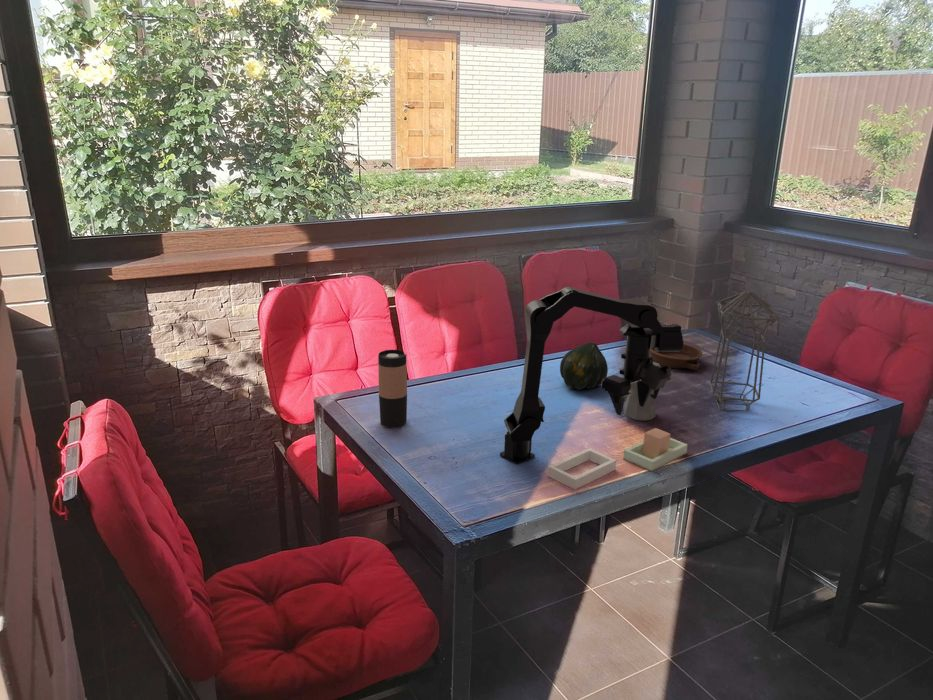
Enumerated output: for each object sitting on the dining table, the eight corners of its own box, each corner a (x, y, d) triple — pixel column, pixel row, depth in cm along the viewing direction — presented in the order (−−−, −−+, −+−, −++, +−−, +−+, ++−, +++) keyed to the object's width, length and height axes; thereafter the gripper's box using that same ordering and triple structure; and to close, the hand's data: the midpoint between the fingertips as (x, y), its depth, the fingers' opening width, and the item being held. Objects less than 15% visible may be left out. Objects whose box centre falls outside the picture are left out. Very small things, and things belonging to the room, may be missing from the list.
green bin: (651, 471, 179) (652, 462, 178) (623, 458, 185) (624, 449, 184) (686, 453, 189) (687, 444, 188) (658, 441, 195) (659, 433, 194)
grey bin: (574, 489, 170) (575, 479, 170) (547, 475, 176) (548, 466, 176) (615, 469, 180) (616, 460, 179) (588, 457, 186) (589, 448, 185)
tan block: (657, 460, 184) (660, 438, 182) (642, 454, 187) (644, 432, 185) (668, 455, 187) (670, 433, 185) (653, 449, 190) (655, 427, 188)
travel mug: (374, 425, 201) (372, 356, 195) (387, 415, 208) (386, 347, 202) (399, 430, 199) (398, 360, 192) (412, 419, 206) (411, 351, 199)
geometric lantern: (702, 393, 227) (717, 283, 216) (756, 398, 224) (773, 286, 213) (707, 413, 212) (723, 296, 201) (765, 419, 210) (784, 300, 198)
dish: (675, 377, 241) (676, 363, 239) (633, 356, 259) (634, 343, 258) (716, 370, 248) (717, 356, 246) (672, 350, 267) (673, 337, 265)
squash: (544, 369, 229) (576, 340, 221) (565, 358, 241) (596, 330, 233) (572, 405, 227) (606, 378, 218) (592, 392, 239) (625, 365, 230)
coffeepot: (613, 407, 216) (618, 349, 210) (641, 403, 219) (647, 346, 213) (641, 429, 202) (647, 367, 196) (671, 424, 205) (678, 363, 199)
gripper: (641, 368, 169) (633, 430, 174) (687, 353, 181) (679, 412, 186) (603, 355, 177) (596, 415, 182) (649, 341, 189) (642, 398, 194)
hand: (630, 410), depth 186 cm, fingers open, 9 cm apart
